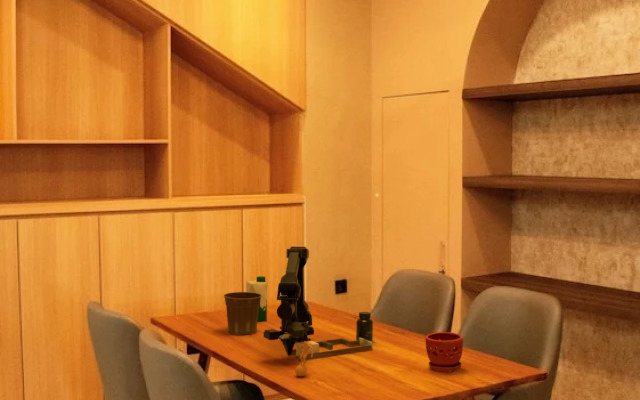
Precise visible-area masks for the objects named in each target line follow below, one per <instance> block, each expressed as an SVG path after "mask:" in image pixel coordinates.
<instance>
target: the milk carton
mask: <svg viewBox="0 0 640 400" xmlns="http://www.w3.org/2000/svg"><path fill="white" fill-rule="evenodd" d="M245 281H246V280H245ZM245 283H246V285H245V286H246V287H245V289H246V291H245V292H253V293H259V294H261V295H262V297H261V300H260V305H259V312H258V322H257V323H263V322H267V320H268V282H267V281H266V276H263V275H262V276H256V279H255V280H249V281H248V280H247V281H246V282H245Z"/></svg>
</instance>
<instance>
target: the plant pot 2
mask: <svg viewBox="0 0 640 400" xmlns="http://www.w3.org/2000/svg"><path fill="white" fill-rule="evenodd" d="M463 348H464V339H463V336H462V335H461V334H459V333H456V332H449V331H447V332H446V331H442V332H440V331H439V332H438V331H437V332H431V333H428V334H426V335H425V349H426V355H427V357H428V360H429V362H428V366H429V367H430V369H432V370H433V371H436V372H442V373H443V372H444V373H445V372H446V373H450V372H454V371H457V370H459V369H460V368H461V367H462V362H461V361H460V360H461V358H462V356H463Z"/></svg>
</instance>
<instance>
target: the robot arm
mask: <svg viewBox="0 0 640 400" xmlns="http://www.w3.org/2000/svg"><path fill="white" fill-rule="evenodd" d="M285 257H286V258H285V259H287V263H286V269H285V274H284V275H283V276H281V277H280V282H279V283H278V285H277V295H276V301H280V304H279V306H277V309H276V314H277V317H278V318H279V319H281V320H280V321H281V322H280V323H281V324H280V326H279V329H280V330H276V329H275V328H270V329H269V328H268V329H265V330H264V331H263V339H266V340H268V341H276V340H280V342H281V343H282V346H283V347H284V350H285V352H286V355H287V356H288V355H290V356H292V355H291V352H292V350H293V349H294V347H295V345H296V343H301V342H304V341H306V342H308V341H312V339H311V338H310V337H309V336H314V335H315V329H314V328H313V316H312V314H311V311H310V309H309V308H310V307H309V305H308V303H307V302H306V299H305V266H306V265H307V262H308V259H309V258H310V250H309V249H308V248H307V247H306V246H290V248H286V255H285Z"/></svg>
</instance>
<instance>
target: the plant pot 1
mask: <svg viewBox="0 0 640 400" xmlns="http://www.w3.org/2000/svg"><path fill="white" fill-rule="evenodd" d="M261 297H262V295H261V294H259V293H253V292H246V291H236V292H228V293H225V294H224V295H223V298H224V302H225V306H226V317H227V331H228V333H230V334H231V335H235V336H245V335H253V334H256V333H257V331H258V330H257V329H258V323H259V322H258V312H259V305H260V300H261Z"/></svg>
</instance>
